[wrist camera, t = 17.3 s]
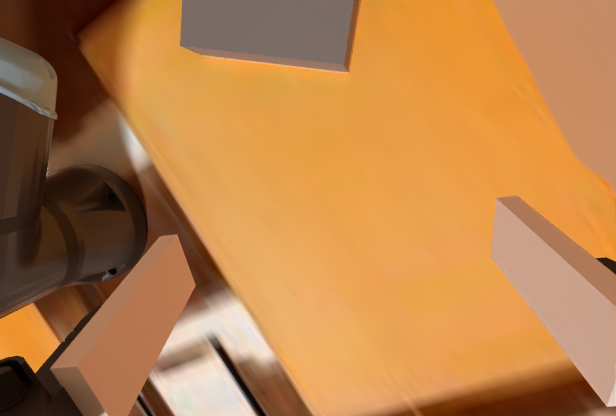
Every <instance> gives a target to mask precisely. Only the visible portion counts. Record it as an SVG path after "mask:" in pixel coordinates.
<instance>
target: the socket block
mask: <svg viewBox="0 0 616 416" xmlns="http://www.w3.org/2000/svg"><path fill="white" fill-rule="evenodd" d="M360 2H361V0H182V20H181V41H180V46H182V47H184V48H186V49H189V50H191V51H193V52H196V53H198V54H200V55H202V56H205V57H211V58H219V59H227V60H236V61H244V62H252V63H261V64H269V65H277V66H286V67H294V68H302V69H311V70H319V71H327V72H335V73H344V74H349V70H350V64H351V58H352V52H353V46H354V39H355V33H356V27H357V21H358V15H359V8H360Z"/></svg>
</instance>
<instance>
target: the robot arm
mask: <svg viewBox="0 0 616 416" xmlns="http://www.w3.org/2000/svg"><path fill="white" fill-rule="evenodd" d="M56 94H57V75H56V73H55V70H54V69H53V67H52V66H51V65H50V64H49V63H48V61H46V60H45V59H44V58H42V57H41V56H40V55H38V54H36V53H34V52H32V51H30V50H28V49H26V48H23V47H21V46H19V45H17V44H14V43H12V42H10V41H7V40H5V39H3V38H0V319H1V318H3V317H5V316H7V315H9V314H11V313H13V312H15V311H17V310H19V309H21V308H23V307H25V306H27V305H29V304H31V303H32V302H34V301H36V300H38V299H40V298H42V297H44V296H46V295H48V294H50V293H52V292H54V291H56V290H58V289H61V288H63V287H67V286H75V285H82V284H89V283H97V282H103V281H107V280H110V279H112V278H115V277H117V276H118V275H120V274H122V273H124V272H126V271H128V270H129V269H130V268H132V267H133V266H134V265H135V264H136V263H137V261H138V260H139V259H140V257H141V255H142V253H143V250H144V248H145V244H146V237H147V227H146V220H145V215H144V212H143V209H142V206H141V204H140V202H139V200H138V198H137V196H136V195H135V193H134V192H133V191H132V189H131V188H130V187H129V186H128V185H127V184H126V182H125V181H123V180H122V179H121V178H120V177H119V176H117V175H116V174H114V173H113V172H111V171H109V170H107V169H104V168H102V167H98V166H93V165H81V166H72V167H66V168H62V169H59V170H57V171H54V172H52V173H51V174H49V175H47V176H46V173H47V166H48V160H49V153H50V146H51V140H52V133H53V127H54V120H57V117H58V116H57V113H56V112H55V106H56ZM491 258H492V259H493V260H494V262H495V263H496V264H497V266H498V267H499V268H500V269H501V271H502V272H503V273H504V275H505V276H506V277H507V278H508V280H509V281H510V282H511V284H512V285H513V286H514V288H515V289H516V290H517V291H518V293H519V294H520V295H521V297H522V298H523V299H524V300H525V302H526V303H527V304H528V306H529V307H530V308H531V309H532V311H533V312H534V313H535V315H536V316H537V317H538V318H539V320H540V321H541V322H542V324H543V325H544V326H545V327H546V329H547V330H548V331H549V333H550V334H551V335H552V336H553V338H554V339H555V340H556V342H557V343H558V344H559V345H560V347H561V348H562V349H563V351H564V352H565V353H566V354H567V356H568V357H569V358H570V360H571V361H572V362H573V364H574V365H575V366H576V367H577V369H578V370H579V371H580V373H581V374H582V375H583V376H584V378H585V379H586V380H587V382H588V383H589V384H590V385H591V387H592V388H593V389H594V391H595V392H596V393H597V394H598V396H599V397H600V398H601V400H602V401H603V402H604V403H605V405H606V406H616V262H615V261H613V260H611V259H609V258H594V257H593V256H592V255H590V254H589V253H588V252H587V251H585V250H584V249H583V248H582V247H580V246H579V245H578V244H577V243H575V242H574V241H573V240H572V239H570V238H569V237H568V236H567V235H565V234H564V233H563V232H562V231H560V230H559V229H558V228H557V227H555V226H554V225H553V224H552V223H550V222H549V221H548V220H547V219H545V218H544V217H543V216H542V215H540V214H539V213H538V212H537V211H535V210H534V209H533V208H532V207H530V206H529V205H528V204H527V203H525V202H524V201H523V200H522V199H520V198H519V197H518V196H512V197H503V198H496V208H495V218H494V228H493V239H492V249H491ZM194 287H195V283H194V280H193V277H192V275H191V272H190V269H189V266H188V264H187V261H186V258H185V255H184V253H183V250H182V247H181V244H180V241H179V239H178V236H177V235H168V236H160V237H159V238H158V239H157V241H156V242H155V243H154V244H153V245H152V247H151V248H150V249H149V250H148V251H147V253H146V254H145V255H144V256H143V257H142V259H141V260H140V261H139V262H138V263H137V265H136V266H135V267H134V268H133V269H132V271H131V272H130V273H129V274H128V275H127V277H126V278H125V279H124V280H123V281H122V283H121V284H120V285H119V286H118V287H117V289H116V290H115V291H114V292H113V293H112V295H111V296H110V297H109V298H108V299H107V301H106V302H105V303H104V304H103V305H102V306H98V307H97V308H95V309H94V310H93V311H91V312H90V313H89V314H87V315H86V316H85V317H84V318H83V319H82V320H81V321H80V322H79V324H78V325H77V326H76V327H75V328H74V331H73V332H71V333H70V334H69V335H68V336H67V337H66V339H65V342H62V343H61V344H60V345H59V347H58V348H57V349H56V350H55V351H54V352H53V354H52V355H51V356H50V357H49V358H48V359H47V360H46V362H45V363H44V364H43V365H42V366H41V367H40V369H39V370H38V371H37V372H36V373H34V372H33V370H32V369H31V367H30V366H29V365H28V363H27V362H26V360H25V359H24V358H23V357H20V356H13V357H7V358H5V359H2V360H0V416H128V414H129V412H130V410H131V408H132V406H133V404H134V403H135V401H136V399H137V397H138V395H139V393H140V391H141V389H142V387H143V385H144V383H145V381H146V380H147V378H148V376H149V374H150V372H151V370H152V368H153V366H154V364H155V362H156V360H157V358H158V357H159V355H160V353H161V351H162V349H163V347H164V345H165V343H166V341H167V339H168V337H169V335H170V333H171V332H172V330H173V328H174V326H175V324H176V322H177V320H178V318H179V316H180V314H181V312H182V310H183V309H184V307H185V305H186V303H187V301H188V299H189V297H190V295H191V293H192V291H193V289H194Z"/></svg>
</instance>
